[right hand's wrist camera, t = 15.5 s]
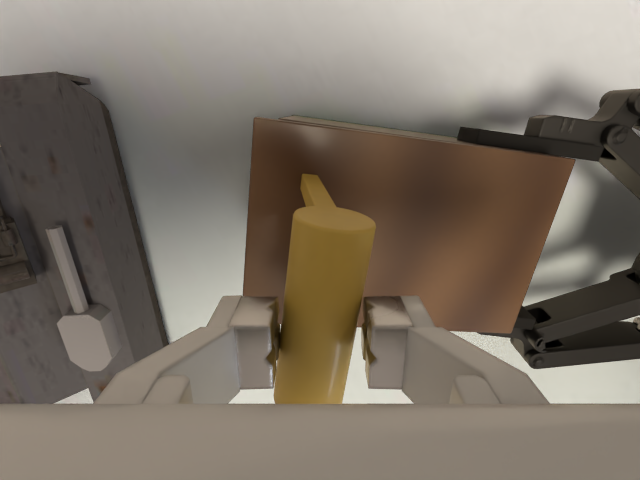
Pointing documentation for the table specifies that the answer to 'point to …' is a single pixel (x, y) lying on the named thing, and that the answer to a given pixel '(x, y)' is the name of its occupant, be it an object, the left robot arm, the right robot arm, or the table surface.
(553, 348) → the left robot arm
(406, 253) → the lid
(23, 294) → the toy
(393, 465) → the right robot arm
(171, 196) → the table surface
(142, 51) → the table surface
